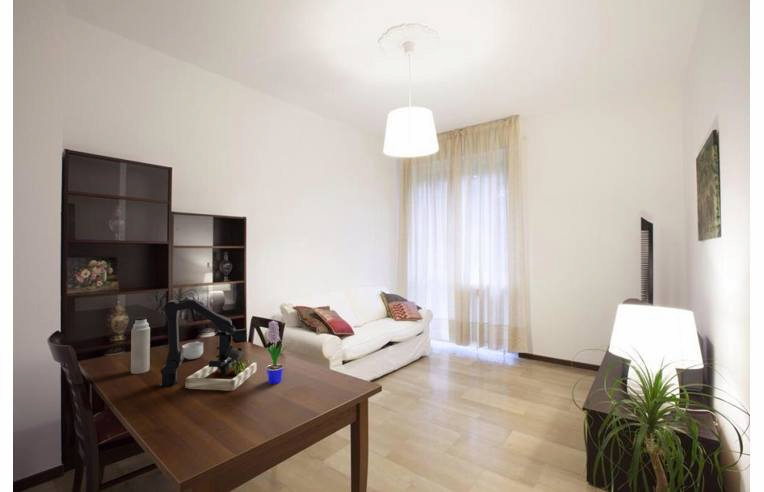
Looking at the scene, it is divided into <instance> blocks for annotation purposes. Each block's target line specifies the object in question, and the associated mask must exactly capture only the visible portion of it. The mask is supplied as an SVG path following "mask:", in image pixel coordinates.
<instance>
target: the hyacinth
mask: <svg viewBox="0 0 764 492" xmlns="http://www.w3.org/2000/svg"><path fill="white" fill-rule="evenodd" d="M279 329H280V327H279V322H278V321H275V320H271V321H269V322H268V330H267V336H268V341H269V342H270V344H273V345H270V346H269V347H265V348H266V349H267V350H268V352H269V355H270V356H271V357H270V358H271V360H272V363H271V364H268V365H267V366H266V374H267V382H268V384H271V385H277V384H280V383H281V382H282V381H283V371H284V367H285V366H284V365H283V364H282V363H278V362H277V361H278V359H279V357H280V355H281V354H282V352H283V351H285V349H286V347H284V348H283V349H282V346H283V343H282V342H281V337H280V331H279ZM276 342H277V343H278V342H281V343H280V344H279V345H278V347H277V346H276V345H277V343H276ZM276 347H277V348H276Z"/></svg>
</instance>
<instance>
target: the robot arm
mask: <svg viewBox="0 0 764 492" xmlns="http://www.w3.org/2000/svg"><path fill="white" fill-rule="evenodd" d="M187 309H188V310H189V309H192V310H193V311H195V312H197V313H198V314H199V315H201V316H202V317H204V318H206V319H207V320H208V321H210V322H212V324H213V325H214V326H215V327H216V328H217V329H218V330H217V331H216V333H214V334H213V335H214V336H215V337H218V346H216V350H218V354H216V358H212V359H211V360H210V361H208V365H209V367H217V368H219V370H220V373H221V374H222V376H226V375H227V372H228V371H229V370H228V366H229V364H230V363H231V362H232V361H233V360H238V359H239V360H240V359H242V356H243V355H244V348H243V347H241V346H239V347H238V348H234V344H243V343H246V344H247V343H248V333H247V329H248V328H243V329H242V328H241V329H240V328H239V329H237V328H236V327H235V326H234V325H233V321H232V320H231V318H229V317H227V316H225V315H222V314H218V313H216V312H215V311H214V310H212V309H210V308H209V307H208V306H205V305H204V303H203V304H202V303H201V302H199V301H198V300H197V299H196V298H191V299H182V300H178V299H171V300H169V301H167V302H166V303H165V304H164V306H163V311H164V314H165V315H164V316H165V317H166V320H167V331H168V332H167V334H168V352H167V355H166V361H165V364H164V365H163V367H161V369H160V371H159V372H160V374H161V383H160V384H158V387H168V388H169V387H170V388H171V387H174V386H175V385H176V384H178V383H180V382H181V380H179V379H178V368H179V367H180V366H181V364H182V362H183V360H184V359H185V357H184V355H183V354H184V350H183V349H181V347H180V337H179V335H180V334H179V332H180V330H179V317H180V314H181V313H180V312H181V311H182V310H187ZM232 342H233V343H234V344H232ZM231 358H232V359H231ZM227 370H228V371H227Z"/></svg>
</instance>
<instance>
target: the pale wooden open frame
mask: <svg viewBox="0 0 764 492" xmlns="http://www.w3.org/2000/svg"><path fill="white" fill-rule="evenodd" d="M257 364H258V363H257V362H255V361H254V362H252V363H251V364H250V365H249V366H247V367H246V368H245V369H244V370H243V371H242V372H241V371H240V372H239V373H238V375H236V376H234V377H233V378H231V379H230V378H229V379H228V378H209V377H208V376H210V375H211V374H212V373H215V372H216V371H217V370H218V367H209V364H207V365H206V366H203V367H202V368H201V369H199V370H197V371H196V372H194V373H192V374H191V375H189V376H187V377H186V378H185V383H184V384H185V385H184V386H185V387H184V389H186V388H188V389H190V390H191V389H192V390H211V391H212V390H213V391H233V392H235V390H236V389H237V388H238V387H240V386H241V385H242V384H243V383H245V382H246V381H247V379H249V378H250V377H251V376H252V375H253V374H254V373H256V372H257V367H258V365H257ZM206 377H207V378H206Z"/></svg>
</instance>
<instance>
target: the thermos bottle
mask: <svg viewBox="0 0 764 492" xmlns="http://www.w3.org/2000/svg"><path fill="white" fill-rule="evenodd" d="M134 321H135V322H134V324H133V326H132V328H131V333H130V335H131V336H130V337H131V338H130V345H131V346H130V349H131V350H130V373H131V374H134V375H135V374H136V375H138V374H143V373H147V372H148V371H150V365H151V364H150V363H151V362H150V358H151V357H150V356H151V355H150V354H151V351H150V349H151V348H150V347H151V327H150V326H149V325H150V324H149V322H148V321H147V316H139V317H135V320H134Z"/></svg>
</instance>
